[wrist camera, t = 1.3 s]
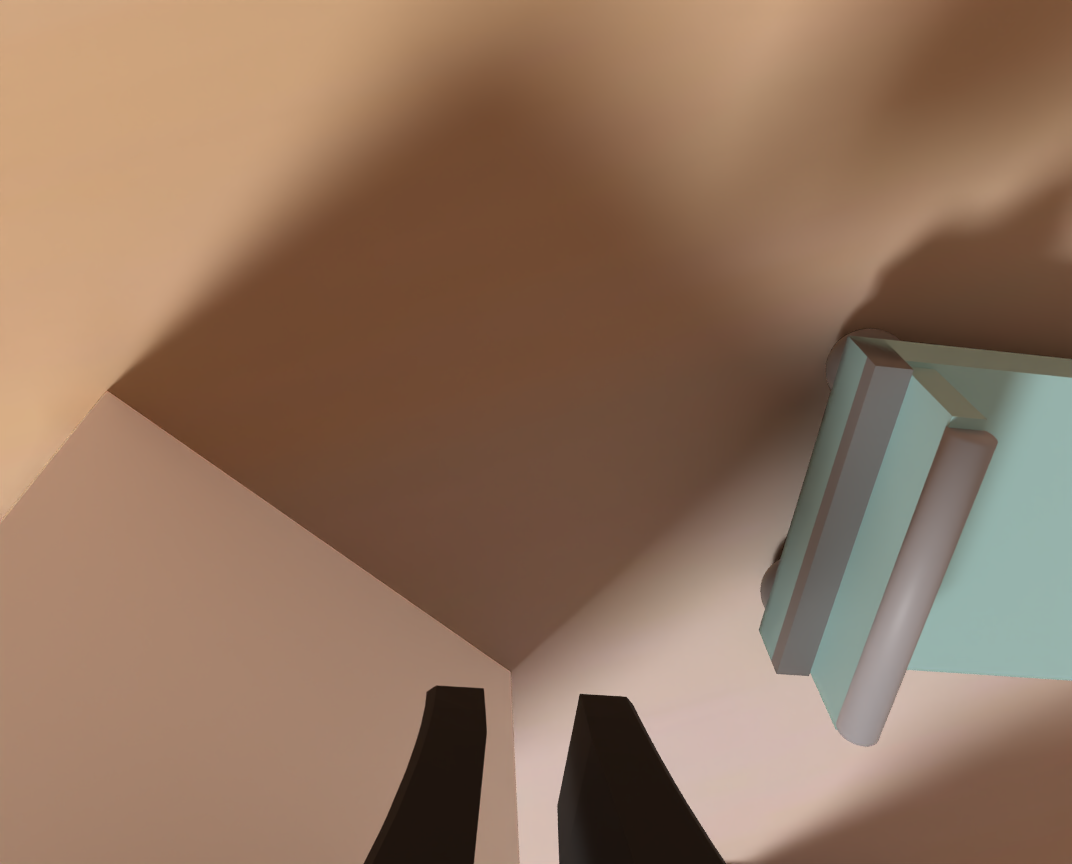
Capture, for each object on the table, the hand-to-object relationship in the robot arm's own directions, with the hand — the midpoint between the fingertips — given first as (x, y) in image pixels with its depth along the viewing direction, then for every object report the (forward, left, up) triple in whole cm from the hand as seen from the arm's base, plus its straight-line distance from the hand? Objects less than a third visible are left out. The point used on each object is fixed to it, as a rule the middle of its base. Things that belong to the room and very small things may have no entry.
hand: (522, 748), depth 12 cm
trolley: (0, -10, -8) cm, 13 cm away
